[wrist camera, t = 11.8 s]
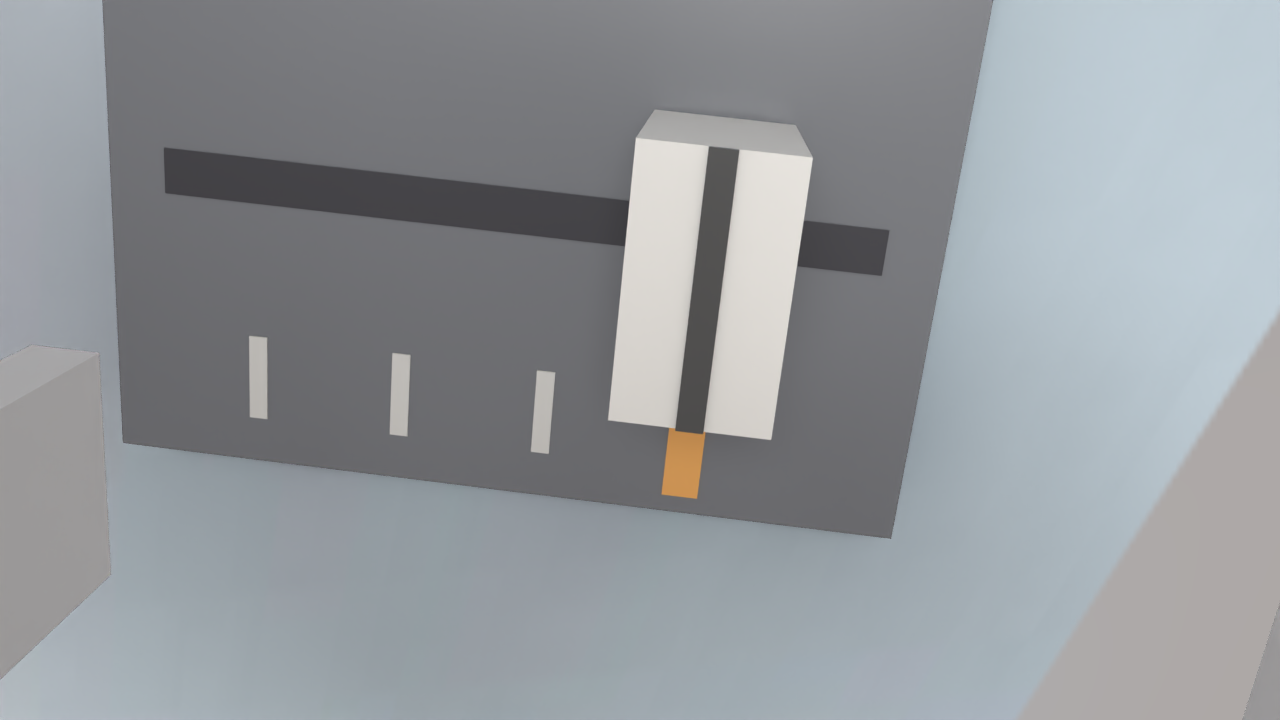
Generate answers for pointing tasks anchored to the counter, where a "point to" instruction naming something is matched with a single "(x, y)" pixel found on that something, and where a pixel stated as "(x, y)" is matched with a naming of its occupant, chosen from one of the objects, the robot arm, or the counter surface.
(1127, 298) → the counter surface
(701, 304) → the fader tab
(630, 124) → the console board
